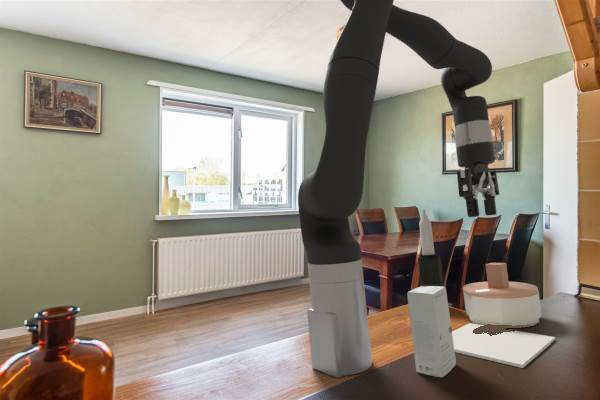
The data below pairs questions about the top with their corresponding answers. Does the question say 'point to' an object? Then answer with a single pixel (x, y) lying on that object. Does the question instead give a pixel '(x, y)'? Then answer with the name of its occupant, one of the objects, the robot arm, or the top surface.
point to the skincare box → (431, 330)
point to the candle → (428, 256)
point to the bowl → (503, 310)
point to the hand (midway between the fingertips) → (482, 215)
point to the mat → (500, 345)
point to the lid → (499, 285)
